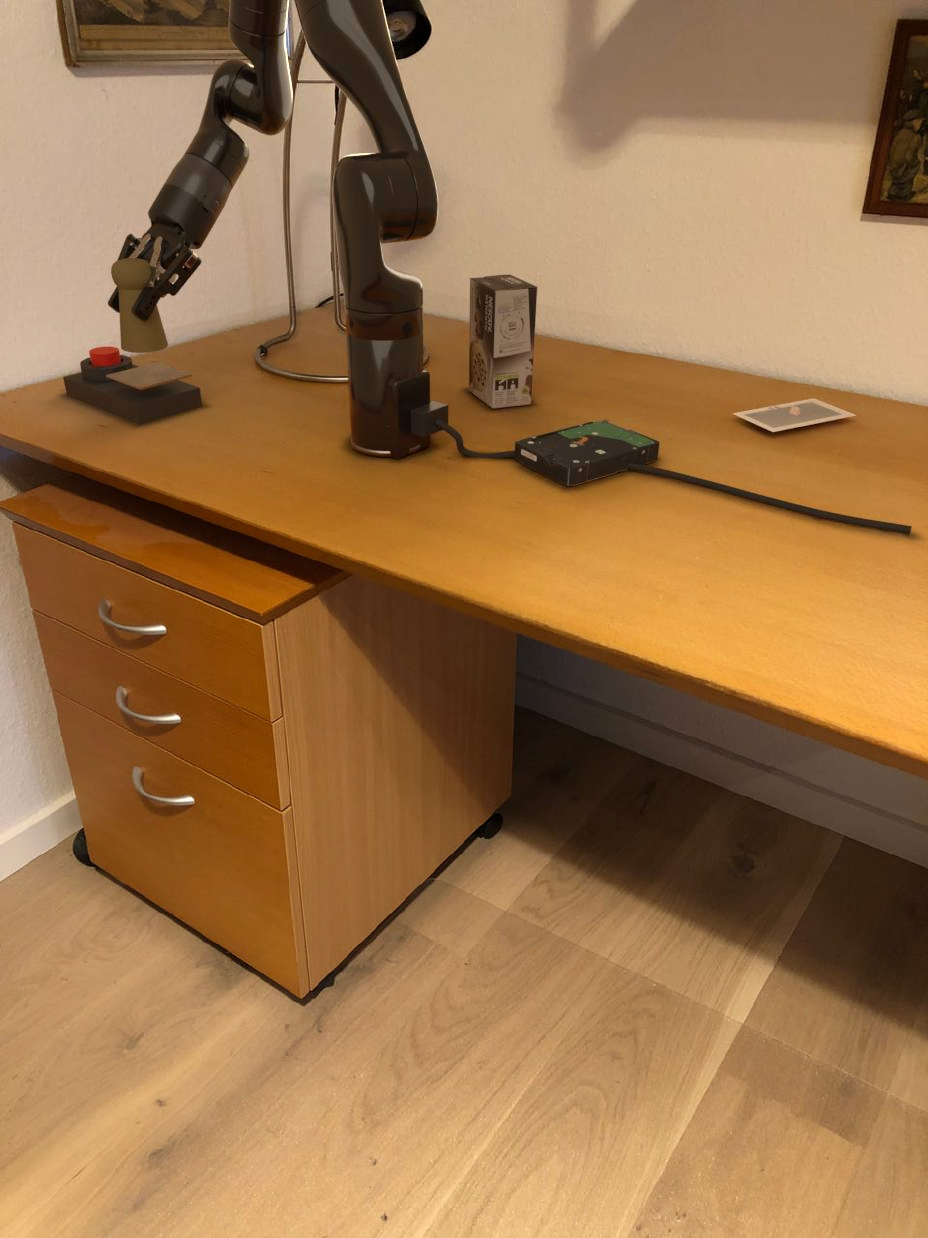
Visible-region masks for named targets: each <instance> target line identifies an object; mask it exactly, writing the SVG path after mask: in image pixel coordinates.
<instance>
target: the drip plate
mask: <svg viewBox="0 0 928 1238" xmlns="http://www.w3.org/2000/svg"><path fill="white" fill-rule="evenodd" d="M192 376H193V375H192V373H189V372H187V371H185V370H181V369H177V368H175V367H171V366H169V365H166V364H163V363H160V362H153V363H149V364H144V365H141V366H139V367H137V368H133V369H129V370H125V371H121V372H117V373H113V374H109V375H106V377H107V378H110V379H113V380H115V381H118V382H121V383H123V384H126V385H129V386H131V387H134V388H137V389H140V390H142V389H146V388H150V387H153V386H157V385H161V384H165V383H168V382H172V381H176V380H179V381H180V380H183V379H187V378H190V377H192Z"/></svg>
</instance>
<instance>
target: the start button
mask: <svg viewBox="0 0 928 1238" xmlns="http://www.w3.org/2000/svg"><path fill="white" fill-rule="evenodd" d="M88 355H89V358H90V360H91V365H93V366H112V365H116V364H119V363H121V358H120V355H121V353H120V348H118V347H115V346H97V347H94V348H91V349H89V351H88Z"/></svg>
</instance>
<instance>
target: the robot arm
mask: <svg viewBox="0 0 928 1238" xmlns="http://www.w3.org/2000/svg"><path fill="white" fill-rule="evenodd" d="M293 1H294V5H295V8H296V11H297V15H298V19H299V20H298V21H299V22H300V26H301V30H302V35H303V38H304V40H305V44H306V45H307V48H308V51H310V54H311V55H312V57H314V59H315V61H316V62H317V64H318V65H319V66H320V68H321V69H322V70H323V71H324V73H325V74H326V75H327V76H328V78H329V79H330V80H331V81H332V83H334V84H335V85H336V87H337V88H338V90H340V91H341V93H342V94H344V96H345V97H346V98H347V99H348V100H349V101H350V102H351V104H352V105H353V106H354V108H356V110H357V111H358V113H359V114H360V116H361V117H362V118H363V120H364V122H365V124H366V125H367V127H368V129H369V132H370V133H371V136H372V138H373V141H374V143H375V146H376V149H377V152H366V153H365V152H364V153H353V154H348V155H345V156H343V157H342V158H340V160H338V162H337V164H336V166H335V168H334V171H333V176H332V183H331V184H332V185H331V200H332V211H333V213H332V214H333V221H334V229H335V230H334V232H335V240H336V250H337V263H338V272H339V277H340V282H341V287H342V293H343V303H344V320H345V342H346V343H345V344H346V345H345V347H346V360H347V361H346V364H347V381H348V383H347V384H348V399H349V400H348V404H349V419H350V420H349V422H350V446H351V447H352V449H353V450H354V451H357V452H359V453H361V454H364V455H368V456H374V457H383V458H384V457H388V458H394V459H396V460H399V459H401V458H404V457H406V456H408V455H411V454H414V453H416V452H418V451H422V450H423V449H426V448H428V447H431V435H434V434H436V433H439V432H442V431H444V432H446V433H447V434H448V435H450V437H452V438H453V439H454V441H455V443H456V444H455V445H456V449H457V451H458V452H459V454H460V455H462V456H464V457H467V458H473V459H474V458H476V459H477V458H479V459H495V460H496V459H498V460H501V459H502V460H503V459H504V460H505V459H514V456H515V450H506V451H499V452H498V451H497V452H485V453H483V452H482V453H481V452H475V451H472V450H470V449H468V448H466V447H465V446H464V440H463V437H462V435H461V434H460V433H459V432H458V430H457V429H455V428H454V427H452V426H451V425H449V404H447V403H444V402H440V401H436V400H431V374H430V371H428V370H424V369H425V368H424V363H425V361H424V358H425V357H424V286H423V284H422V281H421V279H420V278H418V277H417V276H415V275H412V274H410V273H407V272H404V271H401V270H397V269H394V268H391V267H390V266H388V265H387V263H385V260H384V255H383V249H382V245H385V244H393V243H395V244H396V243H401V242H411V241H417V240H423V239H425V238H428V237H429V236H431V234H432V233H433V231H434V230H435V228H436V225H437V223H438V219H439V196H438V188H437V183H436V179H435V175H434V172H433V168H432V165H431V164H432V163H431V162H430V158H429V155H428V153H427V149H426V146H425V143H424V141H423V139H422V136H421V132H420V130H419V127H418V125H417V122H416V118H415V116H414V113H413V110H412V108H411V105H410V101H409V99H408V96H407V93H406V89H405V86H404V83H403V80H402V76H401V72H400V68H399V65H398V61H397V59H396V58H397V57H396V55H395V51H394V50H395V49H394V46H393V43H392V40H391V35H390V31H389V27H388V23H387V17H386V13H385V9H384V4H383V0H293ZM228 3H229V6H228V23H227V24H228V25H227V28H228V38H229V40H230V42H231V44H232V45H233V46H234V47H235V48H236V49H237V50H238V51H239V52H240V53H241V54H243V56H244V57H246V59H248V60H249V61H250V63H249V62H248V61H245V60H242V59H241V58H236V57H232V58H228V59H226V60H224V61H222V62H221V63H220V64H219V65H218V66H217V67H216V68H215V70H214V71H213V75H212V78H211V80H210V84H209V89H208V93H207V98H206V103H205V106H204V110H203V112H202V113H203V114H202V116H201V120H200V123H199V126H198V129H197V132H196V133H195V135H194V136H193V138H192V140H191V142H190V143H189V145H188V147H187V149H186V150H185V152H184V154H183V155H182V156H181V158H180V160H179V161H178V162H176V164H175V165H174V167H173V168H172V170H171V172H170V173H169V175H168V177H167V178H166V180H165V182H164V183H163V185H162V186H161V189H160V190H159V192H158V193H157V195H156V196H155V199H154V200H153V202H152V204H151V206H150V207H149V208H148V211H147V216H148V218H149V221H150V224H151V225H150V227H149V228H148V229H147V230H146V232H144V233H143V234H142V236H141V237H136V236H135V235H134V234H132V233H129V234H128V235H126V237H125V240H124V243H123V245H122V247H121V250H120V253H119V255H118V258H117V260H116V261H118V260H121V259H126V258H139V259H144V260H146V261H148V262H149V263H150V264H149V267H150V270H151V275H150V278H149V280H148V282H147V286H148V287H144V288H143V290H142V292H141V293H140V295H139V297H138V298H137V300H136V302H135V304H134V305H133V307H132V309H131V312H132V313H133V314H134V315H135V316H136V317H138V318H139V319H140V320H143V321H146V320H147V319H148V318H149V316H150V315H151V313H152V312H153V310H154V307H155V306H156V305H157V306H158V303H159V301H160V300H161V299H164V298H165V297H167V295H170V296H172V297H174V296H176V295H177V294H178V293H179V292H180V291H181V289H182V288H183V287H184V285H185V284H187V282H188V280H189V279H191V278H192V275H194V273H195V272H196V271H197V269H198V268H199V267H200V266H201V264H202V262H203V261H202V259H201V258H200V256H198V255H197V254H196V253H195V251H193V250H199V249H201V248H202V246H203V245H204V243H205V242H206V239H207V238H208V236H209V234H210V232H211V231H212V228H213V227H214V225H215V224H216V222H217V220H218V219H219V217H220V215H221V214H222V212H223V210H224V208H225V206H226V204H227V202H228V199H229V197H230V195H231V192H232V190H234V187H235V185H236V184H237V182H238V180H239V178H240V177H241V175H242V173H243V172H244V169H245V168H246V166H247V164H248V161H249V159H250V149H249V147H248V145H247V143H246V142H245V140H244V139H243V137H241V136H240V135H239V134H238V133H237V131H235V130H234V129H233V128H231V127H230V124H231V123H232V121H233V120H234V121H236V122H238V123H240V124H242V125H244V126H246V127H248V128H250V129H251V130H254V131H255V132H258V133H260V134H262V135H265V136H276V135H278V134H280V133H281V132H282V131H284V129H285V128H286V127H287V125H288V124H289V122H290V120H291V117H292V113H293V108H294V107H293V106H294V93H293V85H292V84H293V83H292V78H291V73H290V65H289V58H288V50H287V44H286V34H287V25H288V13H289V4H290V0H229V1H228ZM176 278H177V279H176ZM107 305H108V307H109V308H110V309H112V310H113V311H115V313H118V314H120V313H119V290H118V287H117V286H116V287H115V289H114V290H113V291H112V293H111V295H110V297H109V299H108V301H107ZM627 469H628V470H630V471H634V472H639V473H644V474H650V475H653V476H659V477H663V478H667V479H671V480H674V481H679V482H682V483H687V484H691V485H694V486H699V487H702V488H706V489H710V490H713V491H717V492H721V493H724V494H728V495H731V496H735V497H738V498H742V499H744V500H749V501H752V502H755V503H759V504H763V505H766V506H767V505H768V506H771V507H775V508H779V509H783V510H785V511H790V512H792V513H798V514H801V515H805V516H809V517H814V518H817V519H821V520H822V519H823V520H827V521H832V522H836V523H841V524H846V525H851V526H857V527H863V528H869V529H874V530H875V529H876V530H880V531H887V532H892V533H899V534H900V533H901V534H906V535H911V532H912V525H906V524H900V523H895V522H890V521H889V522H888V521H882V520H875V519H869V518H863V517H858V516H851V515H846V514H842V513H836V512H833V511H827V510H822V509H818V508H814V507H810V506H806V505H801V504H797V503H794V502H790V501H786V500H782V499H779V498H774V497H771V496H767V495H763V494H761V493H760V494H759V493H756V492H752V491H748V490H744V489H741V488H737V487H734V486H731V485H727V484H723V483H719V482H716V481H712V480H708V479H705V478H701V477H697V476H693V475H689V474H686V473H685V474H684V473H681V472H677V471H673V470H669V469H665V468H659V467H655V466H652V465H647V464H644V465H641V464H636V463H629V464H628V465H627Z"/></svg>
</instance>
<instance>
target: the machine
mask: <svg viewBox="0 0 928 1238" xmlns="http://www.w3.org/2000/svg"><path fill="white" fill-rule="evenodd" d="M120 358H121V363H119V364H116V365H112V366H93V365H91V360H90V357H86V358H84V359H83V360H80V362H79V366H80V371H81V372H76V373H73V374H68V375H64V376H62V380H63V383H64V388H65V393H66V396H68V397H71V398H73V399H76V400H78V401H80V402H82V403H85V404H88V405H90V406H92V407H95V408H97V409H100V410H102V411H104V412H107V413H110V414H112V415H115V416H117V417H119V418H122V419H124V420H126V421H128V422H132V423H134V424H137V425H139V426H140V425H144V424H147V423H151V422H153V421H157V420H161V419H163V418H167V417H170V416H174V415H178V414H181V413H184V412H188V411H191V410H195V409H198V408H201V407H203V401H202V395H201V388H200V387H199V386H196V385H193V384H190V383H187V382H185V381H182V380H180V379H179V380H176V381H172V382H168V383H165V384H161V385H157V386H153V387H150V388H146V389H142V390H140V389H137V388H134V387H131V386H129V385H126V384H123V383H121V382H118V381H115V380H113V379H110V378H107V377H106V375H109V374H113V373H117V372H121V371H125V370H129V369H133V368H137V367H140V366H139V365H136V364H133V359H132V357H130V356H128V355H124V354H120Z"/></svg>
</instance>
